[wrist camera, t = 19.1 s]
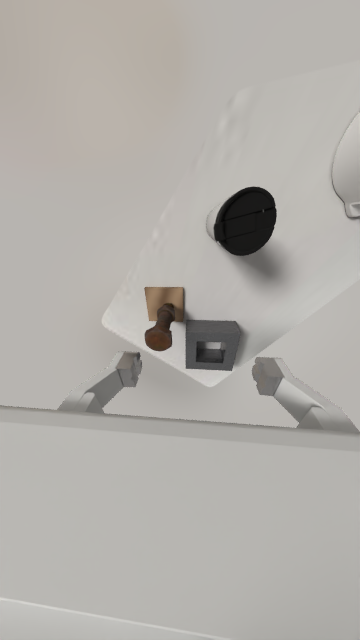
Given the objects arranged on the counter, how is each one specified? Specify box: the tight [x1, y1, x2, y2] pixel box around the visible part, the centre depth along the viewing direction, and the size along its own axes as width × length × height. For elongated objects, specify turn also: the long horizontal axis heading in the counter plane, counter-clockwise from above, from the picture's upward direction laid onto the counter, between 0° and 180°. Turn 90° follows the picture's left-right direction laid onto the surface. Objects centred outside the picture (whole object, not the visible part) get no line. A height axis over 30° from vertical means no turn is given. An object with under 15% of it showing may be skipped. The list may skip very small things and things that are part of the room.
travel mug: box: [206, 187, 277, 256], centre depth 24 cm, size 6×7×20 cm
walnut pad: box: [144, 287, 183, 322], centre depth 43 cm, size 10×10×1 cm
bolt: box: [145, 303, 175, 351], centre depth 37 cm, size 6×5×15 cm
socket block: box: [186, 320, 240, 371], centre depth 47 cm, size 14×14×6 cm
